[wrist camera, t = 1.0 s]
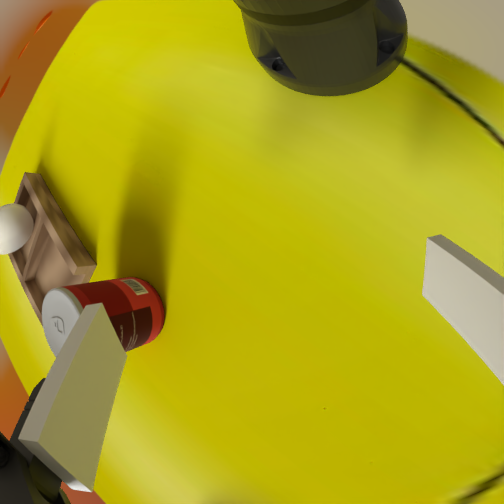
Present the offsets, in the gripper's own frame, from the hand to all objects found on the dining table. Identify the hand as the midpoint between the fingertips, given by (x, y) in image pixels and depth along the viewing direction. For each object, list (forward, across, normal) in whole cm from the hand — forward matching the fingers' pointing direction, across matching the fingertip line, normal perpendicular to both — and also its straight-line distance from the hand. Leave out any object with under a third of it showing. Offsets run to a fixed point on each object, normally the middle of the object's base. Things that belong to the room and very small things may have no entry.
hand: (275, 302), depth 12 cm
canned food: (+20, -14, -11) cm, 27 cm away
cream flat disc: (+34, -34, -1) cm, 48 cm away
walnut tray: (+32, -31, -5) cm, 44 cm away
